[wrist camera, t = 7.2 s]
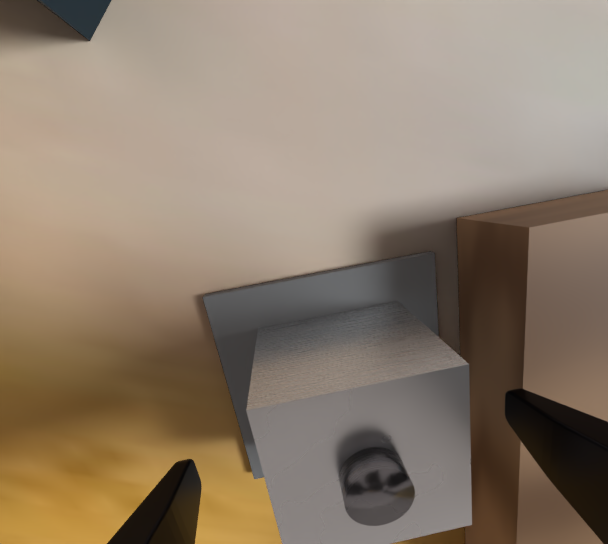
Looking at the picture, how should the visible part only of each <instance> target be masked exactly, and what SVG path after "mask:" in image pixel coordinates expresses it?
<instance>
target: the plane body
mask: <svg viewBox="0 0 608 544" xmlns="http://www.w3.org/2000/svg"><path fill="white" fill-rule="evenodd" d="M457 249H458V286H459V323H460V357H462V358H463V359H464V360H465V361H466V362H467V363H468V364H469V385H470V439H471V494H472V525H469V526H465V544H603V543H602V541H601V540H600V539H599V538H598V537H597V535H596V534H595V533H594V532H593V531H592V530H591V528H590V527H589V526H588V525H587V524H586V523H585V521H584V520H583V519H582V518H581V517H580V515H579V514H578V513H577V512H576V511H575V510H574V508H573V507H572V506H571V505H570V504H569V503H568V501H567V500H566V499H565V498H564V497H563V495H562V494H561V493H560V492H559V491H558V490H557V488H556V487H555V486H554V485H553V484H552V482H551V481H550V480H549V479H548V477H547V476H546V475H545V473H544V472H543V471H542V469H541V468H540V467H539V465H538V464H537V463H536V461H535V460H534V458H533V457H532V456H531V454H530V453H529V451H528V450H527V449H526V447H525V446H524V445H523V443H522V442H521V440H520V439H519V438H518V436H517V435H516V433H515V432H514V431H513V429H512V428H511V427H510V425H509V424H508V422H507V420H506V418H505V393H506V392H507V391H509V390H513V389H518V388H521V389H525V390H527V391H530V392H532V393H535V394H538V395H540V396H543V397H545V398H548V399H551V400H553V401H556V402H558V403H561V404H563V405H566V406H569V407H571V408H574V409H576V410H579V411H581V412H584V413H587V414H589V415H592V416H594V417H597V418H600V419H602V420H605V421H607V422H608V190H604V191H599V192H594V193H588V194H583V195H578V196H572V197H567V198H561V199H556V200H551V201H545V202H540V203H535V204H529V205H524V206H519V207H513V208H508V209H502V210H497V211H492V212H486V213H481V214H476V215H470V216H465V217H459V218H457Z"/></svg>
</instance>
